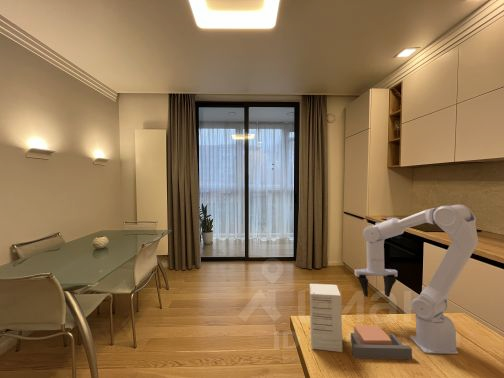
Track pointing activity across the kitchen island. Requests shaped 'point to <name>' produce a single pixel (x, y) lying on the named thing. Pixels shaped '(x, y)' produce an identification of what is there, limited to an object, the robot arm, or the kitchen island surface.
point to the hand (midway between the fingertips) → (376, 295)
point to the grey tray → (381, 349)
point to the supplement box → (325, 317)
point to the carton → (371, 335)
